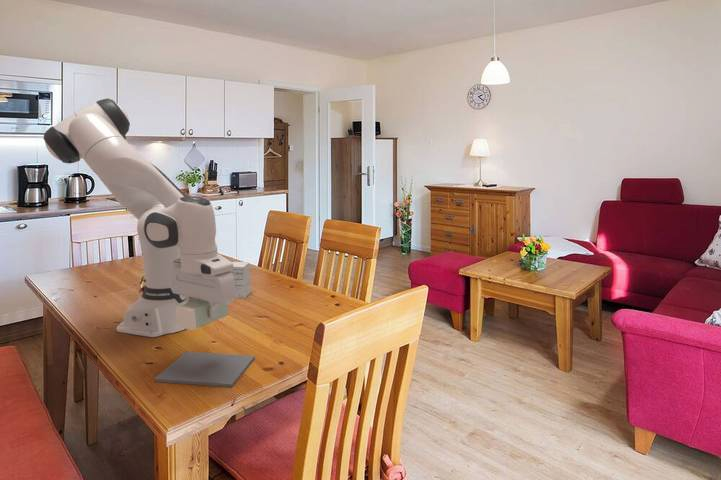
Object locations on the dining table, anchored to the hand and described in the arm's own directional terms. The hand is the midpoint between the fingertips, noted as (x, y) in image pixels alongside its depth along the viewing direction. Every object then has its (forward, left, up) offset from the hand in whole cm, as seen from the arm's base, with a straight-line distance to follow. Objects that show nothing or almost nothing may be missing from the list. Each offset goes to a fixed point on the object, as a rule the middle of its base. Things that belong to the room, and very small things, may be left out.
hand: (203, 314), depth 120 cm
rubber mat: (0, 0, -15) cm, 15 cm away
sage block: (+2, +5, +1) cm, 6 cm away
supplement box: (-16, +62, -15) cm, 66 cm away
